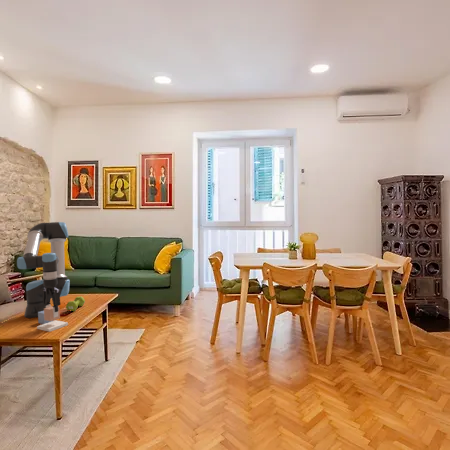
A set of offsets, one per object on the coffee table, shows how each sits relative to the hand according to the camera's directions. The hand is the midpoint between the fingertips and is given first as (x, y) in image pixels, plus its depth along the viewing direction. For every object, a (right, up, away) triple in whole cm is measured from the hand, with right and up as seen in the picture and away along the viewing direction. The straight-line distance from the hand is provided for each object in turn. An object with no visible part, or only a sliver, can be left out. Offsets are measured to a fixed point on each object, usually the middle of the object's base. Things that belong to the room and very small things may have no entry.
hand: (52, 316), depth 192 cm
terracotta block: (0, -2, 0) cm, 2 cm away
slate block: (-9, -7, +10) cm, 15 cm away
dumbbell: (-4, -6, +38) cm, 39 cm away
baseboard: (0, -7, 0) cm, 7 cm away
